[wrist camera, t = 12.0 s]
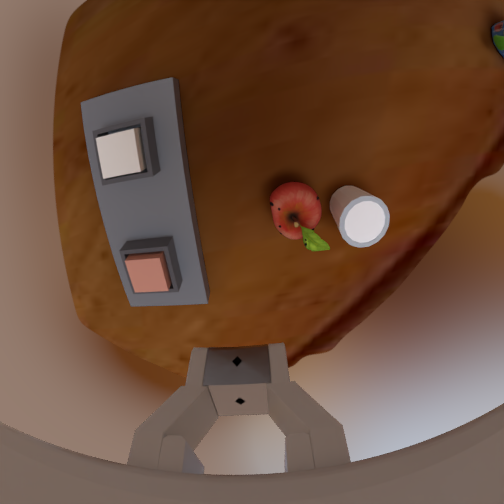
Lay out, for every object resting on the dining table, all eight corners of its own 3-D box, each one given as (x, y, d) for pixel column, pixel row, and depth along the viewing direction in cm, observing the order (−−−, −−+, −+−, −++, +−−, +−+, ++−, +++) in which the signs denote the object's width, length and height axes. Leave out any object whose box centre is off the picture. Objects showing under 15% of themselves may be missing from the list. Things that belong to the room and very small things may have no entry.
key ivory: (106, 135, 30) (95, 138, 27) (142, 126, 30) (133, 128, 27) (113, 173, 32) (103, 178, 30) (149, 166, 32) (140, 171, 30)
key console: (91, 102, 31) (68, 103, 26) (178, 79, 31) (165, 74, 26) (136, 295, 46) (125, 318, 41) (209, 292, 46) (205, 316, 40)
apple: (257, 212, 40) (260, 245, 31) (276, 167, 37) (286, 186, 28) (307, 230, 41) (323, 266, 32) (327, 188, 38) (351, 213, 29)
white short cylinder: (363, 228, 41) (381, 250, 35) (321, 223, 41) (333, 245, 34) (374, 185, 38) (396, 200, 32) (330, 177, 37) (346, 191, 31)
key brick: (132, 250, 38) (124, 260, 35) (165, 247, 37) (159, 257, 35) (141, 280, 40) (135, 292, 37) (173, 278, 40) (168, 290, 37)
